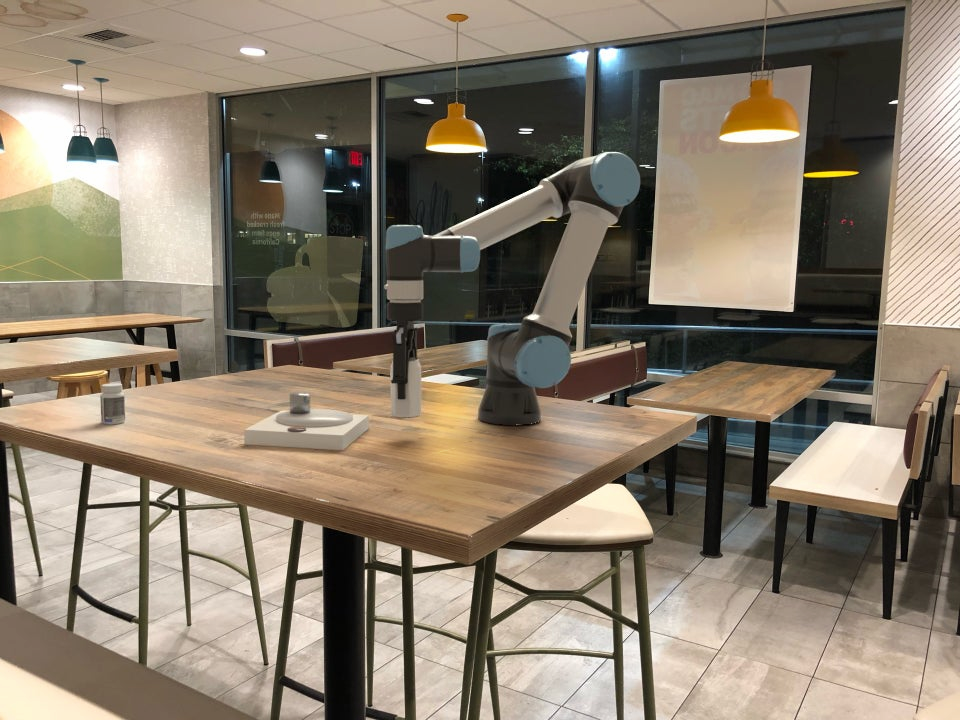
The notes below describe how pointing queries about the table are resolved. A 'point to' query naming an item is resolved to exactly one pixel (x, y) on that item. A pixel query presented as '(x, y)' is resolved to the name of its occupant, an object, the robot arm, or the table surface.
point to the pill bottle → (112, 404)
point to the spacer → (299, 403)
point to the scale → (308, 429)
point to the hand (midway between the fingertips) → (406, 410)
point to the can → (414, 390)
